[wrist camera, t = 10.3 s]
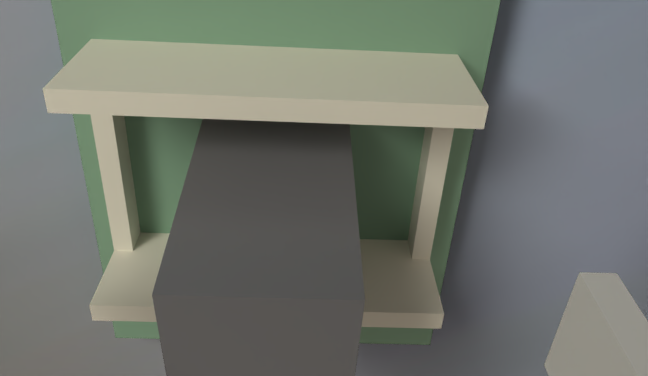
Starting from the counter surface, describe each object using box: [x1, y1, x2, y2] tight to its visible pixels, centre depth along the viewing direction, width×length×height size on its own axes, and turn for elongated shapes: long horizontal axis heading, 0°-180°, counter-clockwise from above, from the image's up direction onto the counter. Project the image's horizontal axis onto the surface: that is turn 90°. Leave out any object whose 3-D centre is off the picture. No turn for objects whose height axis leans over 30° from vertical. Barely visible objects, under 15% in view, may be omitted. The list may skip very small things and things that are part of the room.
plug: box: [152, 119, 365, 376], centre depth 16 cm, size 4×4×7 cm
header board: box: [43, 0, 500, 345], centre depth 18 cm, size 16×12×5 cm
